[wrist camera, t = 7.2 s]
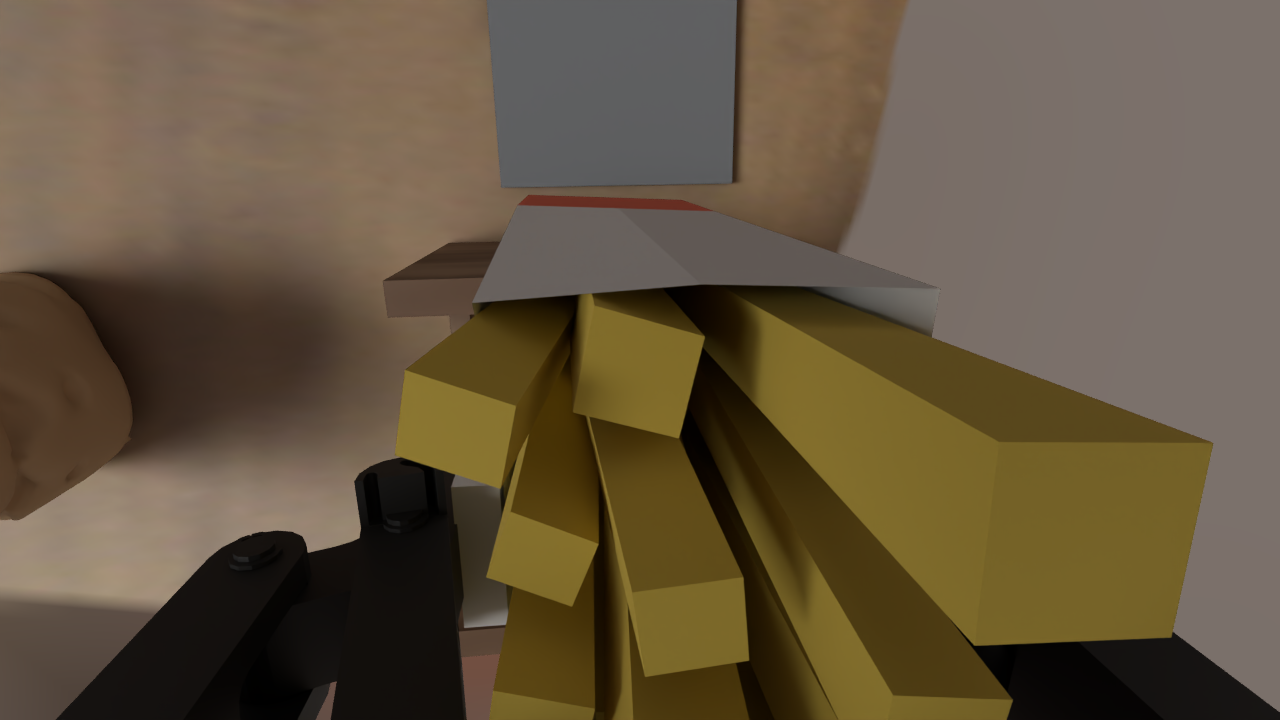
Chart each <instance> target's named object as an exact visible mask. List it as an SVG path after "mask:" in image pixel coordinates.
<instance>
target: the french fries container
mask: <svg viewBox="0 0 1280 720" xmlns="http://www.w3.org/2000/svg"><path fill="white" fill-rule="evenodd" d="M939 294H940V288H937V287H934V286H931V285H928V284H926V283H923V282H920V281H917V280H913V279H911V278H908V277H905V276H902V275H899V274H896V273H893V272H890V271H887V270H885V269H882V268H879V267H876V266H873V265H870V264H867V263H864V262H861V261H858V260H855V259H852V258H849V257H847V256H844V255H841V254H838V253H835V252H832V251H829V250H826V249H823V248H820V247H817V246H814V245H812V244H809V243H806V242H803V241H800V240H797V239H794V238H791V237H788V236H785V235H782V234H779V233H776V232H774V231H771V230H768V229H765V228H762V227H759V226H756V225H753V224H750V223H747V222H744V221H741V220H738V219H736V218H733V217H730V216H727V215H724V214H721V213H718V212H715V211H712V210H709V209H706V208H703V207H700V206H698V205H695V204H692V203H689V202H686V201H683V200H666V199H635V198H604V197H574V196H543V195H528V196H527V197H526V198H525V199H524V200H523V201H522V202H521V203H520V204H518V206H517V208H516V210H515V212H514V214H513V216H512V218H511V221H510V223H509V225H508V227H507V229H506V231H505V233H504V235H503V238H502V240H501V242H500V244H499V246H498V248H497V250H496V253H495V255H494V257H493V259H492V261H491V263H490V265H489V267H488V270H487V272H486V274H485V276H484V278H483V280H482V282H481V285H480V287H479V289H478V291H477V293H476V295H475V297H474V299H473V302H472V306H473V311H474V315H475V317H473V318H472V319H471V320H469V321H468V322H467V323H465V324H464V325H463V326H462V327H460V328H459V329H458V330H456V331H455V332H454V333H452V334H451V335H450V336H449V337H447V338H446V339H445V340H443V341H442V342H441V343H440V344H438V345H437V346H436V347H434V348H433V349H432V350H430V351H429V352H428V353H427V354H425V355H424V356H423V357H421V358H420V359H419V360H417V361H416V362H415V363H414V364H412V365H411V366H410V367H408V368H407V369H406V370H405V374H404V383H403V391H402V399H401V408H400V416H399V424H398V433H397V441H396V449H395V455H396V456H399V457H402V458H405V459H408V460H412V461H415V462H418V463H421V464H424V465H427V466H430V467H434V468H437V469H440V470H443V471H446V472H449V473H452V474H455V475H459V476H462V477H465V478H468V479H471V480H474V481H477V482H481V483H484V484H487V485H490V486H493V487H496V488H499V489H501V487H502V485H503V484H504V496H505V507H504V511H503V514H502V518H501V522H500V526H499V530H498V534H497V537H496V541H495V545H494V549H493V553H492V557H491V561H490V564H489V568H488V572H487V576H486V577H487V578H490V579H493V580H496V581H499V582H502V583H504V584H507V585H508V617H507V622H506V627H505V632H504V637H503V643H502V648H501V653H500V658H499V664H498V668H497V674H496V679H495V684H494V689H493V696H492V703H491V710H490V717H489V720H1007V717H1008V714H1009V711H1010V708H1011V704H1012V701H1013V699H1012V698H1011V697H1010V696H1009V694H1008V693H1007V692H1006V690H1005V689H1004V688H1003V687H1002V685H1001V684H1000V683H999V682H998V680H997V679H996V678H995V676H994V675H993V674H992V673H991V671H990V670H989V669H988V667H987V666H986V665H985V664H984V662H983V661H982V660H981V658H980V657H979V656H978V655H977V653H976V652H975V651H974V650H973V648H972V647H971V646H970V644H969V643H968V642H967V641H966V639H965V638H964V637H963V635H962V634H961V633H960V632H959V630H958V629H957V628H956V626H957V627H958V628H959V629H960V630H961V631H962V632H963V634H964V635H965V636H966V637H967V638H968V639H969V640H970V641H971V642H972V643H973V645H974V646H981V645H1004V644H1028V643H1052V642H1076V641H1099V640H1123V639H1147V638H1170V637H1172V632H1173V627H1174V623H1175V618H1176V614H1177V609H1178V604H1179V600H1180V595H1181V590H1182V586H1183V581H1184V577H1185V572H1186V567H1187V562H1188V558H1189V553H1190V549H1191V544H1192V540H1193V535H1194V530H1195V525H1196V521H1197V516H1198V512H1199V507H1200V503H1201V498H1202V493H1203V488H1204V484H1205V479H1206V475H1207V470H1208V466H1209V461H1210V456H1211V452H1212V447H1213V443H1212V442H1210V441H1207V440H1204V439H1202V438H1199V437H1196V436H1194V435H1191V434H1188V433H1185V432H1183V431H1180V430H1177V429H1175V428H1172V427H1169V426H1167V425H1164V424H1161V423H1158V422H1156V421H1153V420H1151V419H1148V418H1145V417H1142V416H1140V415H1137V414H1134V413H1132V412H1129V411H1127V410H1124V409H1121V408H1119V407H1116V406H1113V405H1111V404H1108V403H1105V402H1103V401H1100V400H1097V399H1095V398H1092V397H1089V396H1087V395H1084V394H1081V393H1078V392H1076V391H1073V390H1070V389H1068V388H1065V387H1062V386H1060V385H1057V384H1055V383H1052V382H1049V381H1047V380H1044V379H1041V378H1038V377H1036V376H1033V375H1030V374H1028V373H1025V372H1022V371H1020V370H1017V369H1014V368H1011V367H1009V366H1006V365H1004V364H1001V363H998V362H996V361H993V360H990V359H987V358H985V357H982V356H979V355H977V354H974V353H972V352H969V351H966V350H964V349H961V348H958V347H956V346H953V345H950V344H948V343H945V342H942V341H940V340H937V339H934V338H932V332H933V326H934V321H935V315H936V310H937V305H938V299H939ZM949 618H950V619H951V620H952V621H953V623H954V624H955V625H956V626H955V625H954V624H953V623H952V621H951V620H950V619H949Z"/></svg>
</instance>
